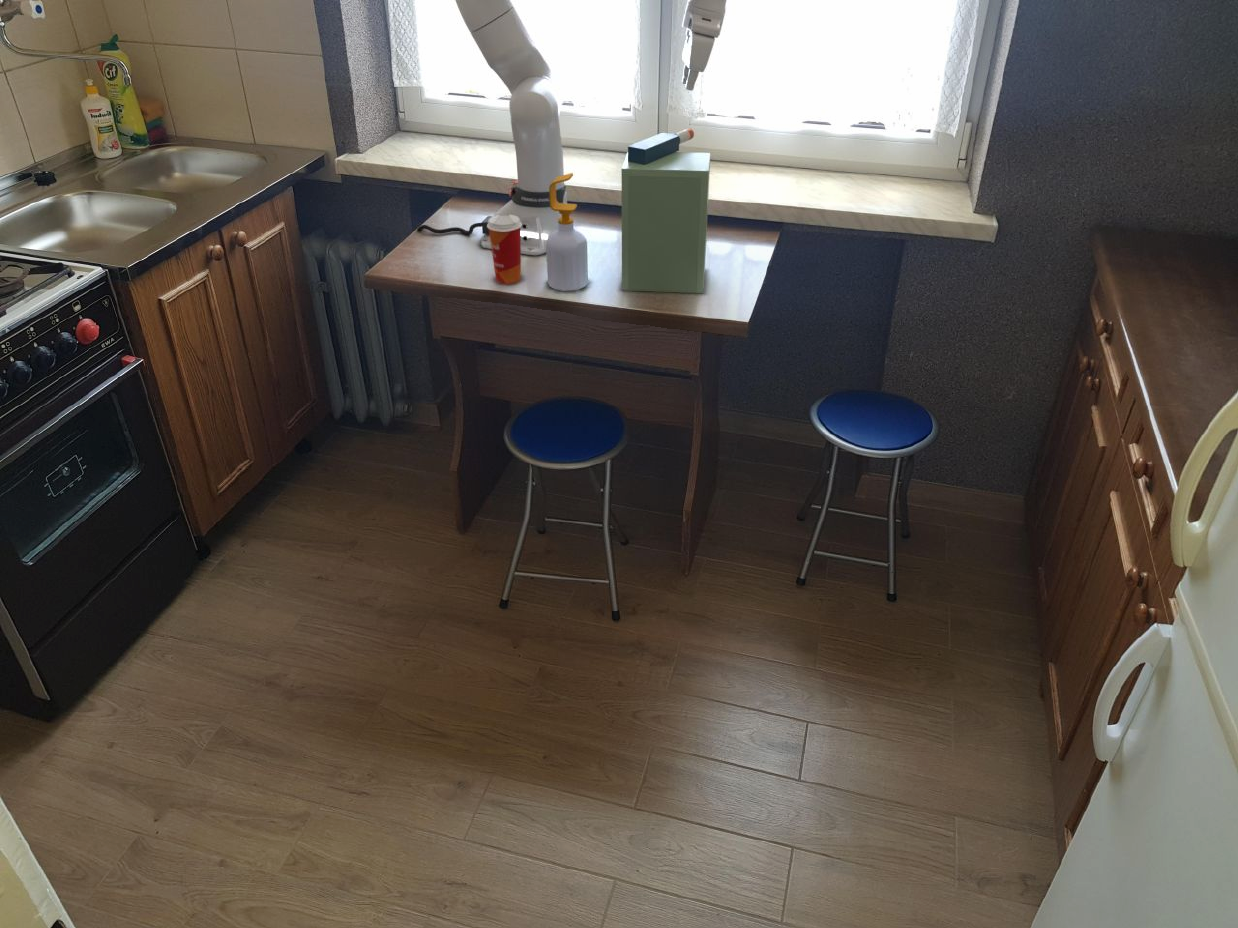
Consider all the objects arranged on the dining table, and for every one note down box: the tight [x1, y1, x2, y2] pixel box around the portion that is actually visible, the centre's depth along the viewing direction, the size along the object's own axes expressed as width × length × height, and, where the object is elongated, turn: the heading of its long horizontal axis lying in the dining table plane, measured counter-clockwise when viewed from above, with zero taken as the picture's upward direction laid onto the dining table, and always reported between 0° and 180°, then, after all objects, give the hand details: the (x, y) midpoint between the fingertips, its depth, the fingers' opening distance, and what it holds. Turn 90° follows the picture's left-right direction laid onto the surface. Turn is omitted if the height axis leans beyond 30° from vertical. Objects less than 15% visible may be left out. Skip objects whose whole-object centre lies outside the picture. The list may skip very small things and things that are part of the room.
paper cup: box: [487, 215, 522, 285], centre depth 214 cm, size 8×8×14 cm
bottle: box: [627, 127, 695, 165], centre depth 206 cm, size 20×4×3 cm, turn 144°
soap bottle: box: [545, 172, 589, 292], centre depth 209 cm, size 9×9×25 cm
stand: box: [621, 151, 711, 294], centre depth 209 cm, size 13×18×27 cm
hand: (687, 87), depth 222 cm, fingers open, 8 cm apart
